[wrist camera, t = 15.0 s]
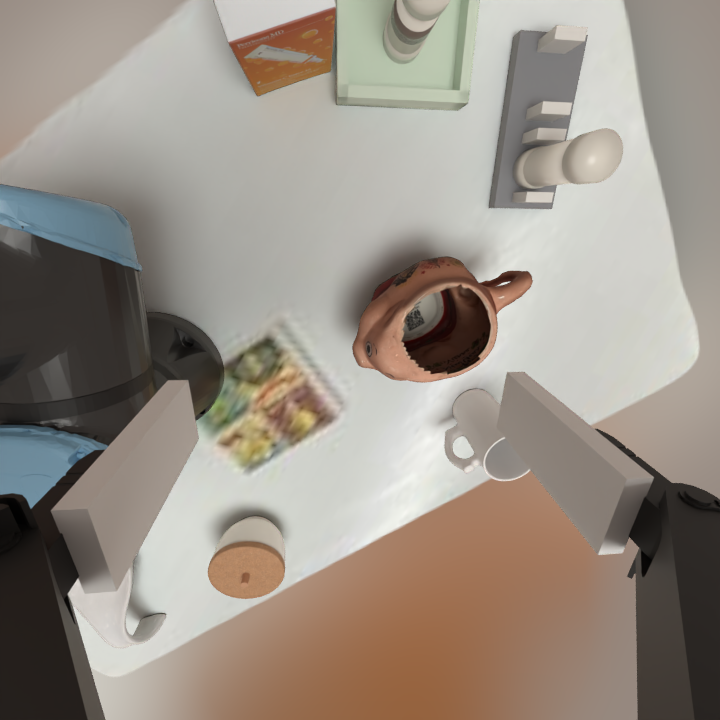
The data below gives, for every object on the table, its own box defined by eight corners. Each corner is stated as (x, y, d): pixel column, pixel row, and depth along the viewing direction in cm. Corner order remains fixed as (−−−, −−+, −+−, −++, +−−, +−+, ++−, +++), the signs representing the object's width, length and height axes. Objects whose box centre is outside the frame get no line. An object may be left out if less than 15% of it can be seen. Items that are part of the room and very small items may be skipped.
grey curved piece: (47, 534, 55) (9, 578, 49) (119, 514, 55) (92, 555, 49) (126, 625, 65) (104, 672, 58) (188, 608, 65) (173, 653, 58)
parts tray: (336, 104, 37) (337, 96, 35) (335, -38, 33) (337, -61, 30) (457, 110, 39) (468, 103, 36) (472, -27, 34) (484, -47, 32)
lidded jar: (288, 553, 61) (283, 609, 53) (223, 554, 60) (206, 612, 52) (289, 504, 57) (283, 556, 49) (219, 504, 56) (200, 558, 48)
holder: (488, 207, 43) (549, 207, 31) (513, 37, 37) (600, -42, 25) (544, 208, 44) (624, 209, 32) (577, 41, 37) (691, -33, 26)
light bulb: (381, 63, 36) (403, 5, 26) (383, 11, 34) (407, -72, 24) (420, 65, 36) (457, 9, 26) (424, 14, 35) (465, -66, 25)
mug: (486, 379, 52) (530, 425, 41) (500, 414, 55) (545, 466, 44) (423, 409, 53) (449, 462, 42) (439, 442, 56) (468, 500, 44)
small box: (257, 98, 37) (225, 45, 25) (230, 20, 34) (181, -81, 22) (333, 72, 36) (338, 6, 24) (312, -8, 34) (306, -125, 22)
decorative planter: (468, 211, 43) (529, 212, 30) (506, 296, 47) (574, 328, 35) (327, 302, 45) (329, 339, 33) (377, 374, 50) (396, 431, 37)
